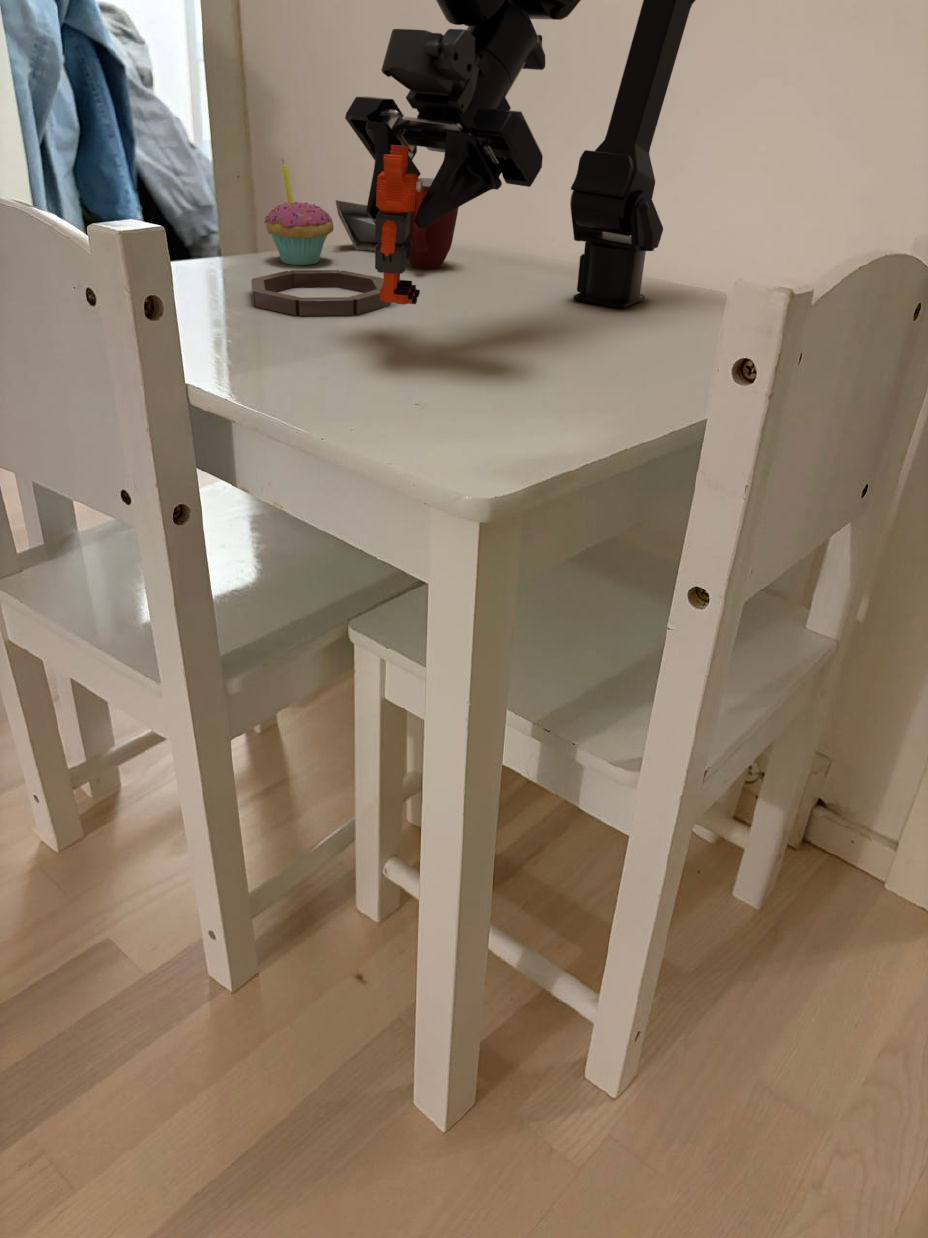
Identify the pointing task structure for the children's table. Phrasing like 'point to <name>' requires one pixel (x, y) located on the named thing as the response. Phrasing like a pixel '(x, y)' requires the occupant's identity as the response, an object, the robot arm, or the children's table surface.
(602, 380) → the children's table surface
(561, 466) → the children's table surface
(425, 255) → the mug
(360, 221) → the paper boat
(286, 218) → the cupcake
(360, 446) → the children's table surface
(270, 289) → the hoop
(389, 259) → the toy animal
